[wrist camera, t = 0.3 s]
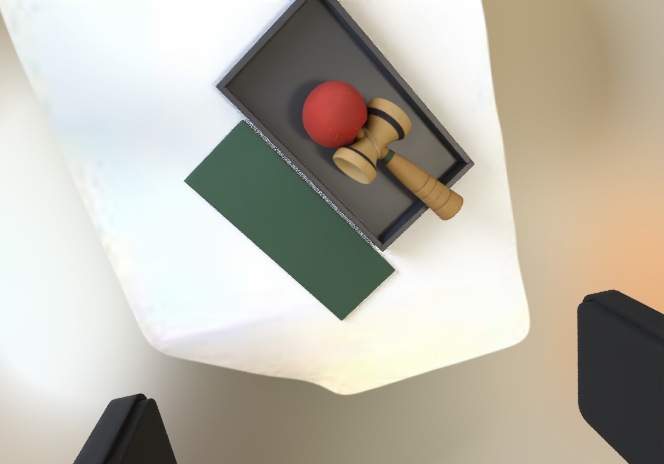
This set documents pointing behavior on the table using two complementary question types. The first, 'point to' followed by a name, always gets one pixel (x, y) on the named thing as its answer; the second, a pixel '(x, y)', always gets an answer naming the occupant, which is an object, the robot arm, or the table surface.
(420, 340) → the table surface
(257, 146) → the mat
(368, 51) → the dark grey flat tray
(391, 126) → the kendama
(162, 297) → the table surface
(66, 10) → the table surface
